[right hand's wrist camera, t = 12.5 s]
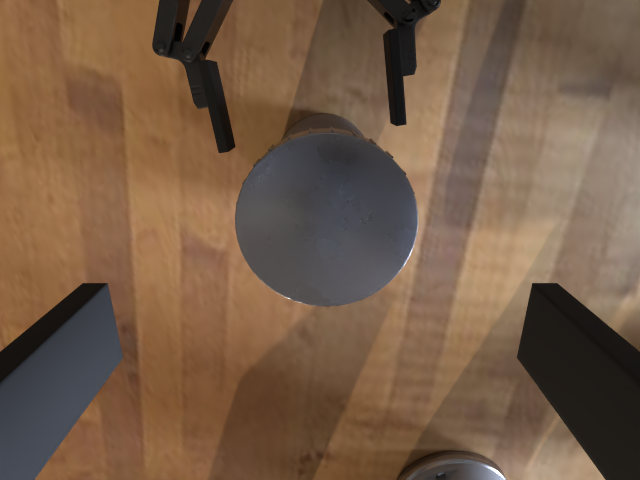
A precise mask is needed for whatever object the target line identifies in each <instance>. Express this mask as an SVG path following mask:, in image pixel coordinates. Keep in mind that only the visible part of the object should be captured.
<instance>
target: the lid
mask: <svg viewBox="0 0 640 480" xmlns="http://www.w3.org/2000/svg"><path fill="white" fill-rule="evenodd" d="M393 158H394V157H393V156H392V155H391V154H390V153H388V152H387V151H386V152H385V151H384V150H383V149H382V148H380V147H379V146H378V145H377V144H376V143H375V142H374V141H373V140H372V139H371V138H370V140H369V139H368V138H365V137H363V136H361V135H359V134H357V133H355V132H354V131H353V130H351V132H350V131H347V130H342V129H336V128H333V127H331V128H318V129H312V128H310V129H309V130H306V131H302V132H299V133H296V134H294V135H292V134H290V135H289V136H288V137H287V138H285V139H284V140H282V141H280V142H279V143H277V144H276V145H274V144H273V145H272V146H271V147H270V149H269V150H268V152H267V153H266V154H265V155H264V156H263V157H262V158H261V159H258V160H257V161H256V163H255V164H254V165H253V166H254V168H253V169H252V170H251V172H250V173H249V175H248V177H247V178H246V179H245V180H244V182H243V183H242V184H243V186H242V189H241V191H240V194H239V197H238V201H237V203H236V204H237V205H236V214H235V226H236V234H237V239H238V243H239V246H240V249H241V252H242V254H243V256H244V258H245V260H246V262H247V263H248V265H249V266H250V268H251V269H252V271H253V272H254V273H255V274H256V275H257V277H258V278H259V279H260V280H261V281H262V282H263V283H265V284H266V285H267V286H268V287H269V288H271V289H272V290H274V291H275V292H277V293H278V294H280V295H282V296H284V297H286V298H288V299H291V300H293V301H296V302H299V303H303V304H307V305H314V306H340V305H345V304H350V303H353V302H356V301H359V300H362V299H364V298H366V297H368V296H371V295H372V294H374V293H376V292H377V291H379V290H380V289H382V288H383V287H384V286H385V285H387V284H388V283H389V282H390V281H391V280H392V279H393V278H394V277H395V276H396V275H397V274H398V273H399V271H400V270H401V269H402V267H403V266H404V264H405V263H406V261H407V259H408V258H409V256H410V253H411V251H412V248H413V246H414V242H415V239H416V235H417V227H418V210H417V204H416V199H415V196H414V192H413V189H412V187H411V185H410V183H409V180H408V178H407V177H406V173H405V172H404V171H403V170H402V169H401V168H400V167H399V166H398V164H397V163H396V162H395V161H394V160H393Z"/></svg>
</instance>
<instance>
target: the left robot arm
mask: <svg viewBox="0 0 640 480" xmlns="http://www.w3.org/2000/svg"><path fill="white" fill-rule="evenodd" d="M232 1H233V0H202V1H201V3H200V5H199V8H198V10H197V12H196V14H195V16H194V19H193V21H192V23H191V25H190V27H189V30H188V32H187V34H186V36H185V38H184V41H183V35H184V30H185V24H186V19H187V14H188V8H189V3H190V0H159V6H158V13H157V19H156V25H155V31H154V37H153V43H152V47H153V50H154V52H155V53H156V54H157V55H159V56H163V57H168V58H173V59H177V60H179V61H181V62H182V63H183V65H184V66H185V69H186V73H187V77H188V81H189V85H190V88H191V93H192V97H193V101H194V104H195V105H196V107H197V108H198V109H201V108H207V107H208V108H209V113H210V117H211V121H212V125H213V130H214V134H215V138H216V143H217V147H218V151H219V153H223V152H229V151H230V150H232V149H233V148H235V142H234V138H233V133H232V129H231V124H230V120H229V115H228V110H227V106H226V101H225V97H224V92H223V88H222V83H221V78H220V74H219V69H218V65H217V62H215V61H210V60H206V59H205V58H206V56H207V54H208V52H209V50H210V48H211V45H212V43H213V41H214V39H215V37H216V35H217V33H218V31H219V29H220V27H221V24H222V22H223V20H224V18H225V16H226V14H227V12H228V10H229V8H230V6H231V3H232ZM368 1H369V3H370V4H371V5H372V6H373V7H374V8H375V9H376V10H377V11H378V12H379V13H380V14H381V15H382V16H383V17H384V18H385V19H386V20H387V21H388V22H389V23H390V24H391V25H392V26H393V27H394V29H391V30H388V31H387V32H386V33H384V34H383V40H384V51H385V63H386V75H387V87H388V98H389V110H390V122H391V123H392V124H393V125H395V126H400V125H406V111H405V97H404V83H403V76H408V75H414V74H415V71H416V67H417V65H416V48H415V25H416V23H417V22H418V21H419V20H420V19H422V18H424V17H425V16H427V15H429V14H430V13H432V12H433V11H435V10H436V9H437V8H438V7H439V5H440V3H441V0H410V2H411V4H408V3H407V2H406V1H405V0H368ZM182 41H183V42H182Z"/></svg>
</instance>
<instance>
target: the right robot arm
mask: <svg viewBox="0 0 640 480" xmlns="http://www.w3.org/2000/svg"><path fill="white" fill-rule="evenodd" d="M122 358H123V355H122V350H121V346H120V341H119V336H118V331H117V326H116V321H115V317H114V312H113V307H112V302H111V297H110V292H109V288H108V283H83V284H81V285H80V286H79V287H78V288H77V289H75V290H74V291H73V292H72V293H71V294H69V295H68V296H67V297H66V298H65V299H63V300H62V301H61V302H60V303H59V304H57V305H56V306H55V307H54V308H53V309H51V310H50V311H49V312H48V313H47V314H45V315H44V316H43V317H42V318H41V319H39V320H38V321H37V322H36V323H34V324H33V325H32V326H31V327H30V328H28V329H27V330H26V331H25V332H24V333H22V334H21V335H20V336H19V337H18V338H16V339H15V340H14V341H13V342H12V343H10V344H9V345H8V346H7V347H6V348H4V349H3V350H2V351H1V352H0V480H34V479H35V478H36V477H37V475H38V474H39V473H40V471H41V470H42V468H43V467H44V466H45V464H46V463H47V462H48V460H49V459H50V457H51V456H52V455H53V453H54V452H55V451H56V449H57V448H58V446H59V445H60V444H61V442H62V441H63V440H64V438H65V437H66V435H67V434H68V433H69V431H70V430H71V429H72V427H73V426H74V424H75V423H76V422H77V420H78V419H79V417H80V416H81V415H82V413H83V412H84V411H85V409H86V408H87V406H88V405H89V404H90V402H91V401H92V400H93V398H94V397H95V395H96V394H97V393H98V391H99V390H100V389H101V387H102V386H103V384H104V383H105V382H106V380H107V379H108V378H109V376H110V375H111V373H112V372H113V371H114V369H115V368H116V366H117V365H118V364H119V362H120V361H121V360H122ZM517 358H518V360H519V361H520V362H521V364H522V365H523V366H524V368H525V369H526V371H527V372H528V373H529V375H530V376H531V378H532V379H533V380H534V382H535V383H536V384H537V386H538V387H539V389H540V390H541V391H542V393H543V394H544V395H545V397H546V398H547V400H548V401H549V402H550V404H551V405H552V406H553V408H554V409H555V411H556V412H557V413H558V415H559V416H560V417H561V419H562V420H563V422H564V423H565V424H566V426H567V427H568V429H569V430H570V431H571V433H572V434H573V435H574V437H575V438H576V440H577V441H578V442H579V444H580V445H581V446H582V448H583V449H584V451H585V452H586V453H587V455H588V456H589V457H590V459H591V460H592V462H593V463H594V464H595V466H596V467H597V468H598V470H599V471H600V473H601V474H602V475H603V477H604V478H605V479H606V480H640V352H639V351H638V350H637V349H636V348H634V347H633V346H632V345H631V344H630V343H628V342H627V341H626V340H625V339H624V338H622V337H621V336H620V335H619V334H618V333H616V332H615V331H614V330H613V329H612V328H610V327H609V326H608V325H607V324H606V323H604V322H603V321H602V320H601V319H599V318H598V317H597V316H596V315H595V314H593V313H592V312H591V311H590V310H589V309H587V308H586V307H585V306H584V305H583V304H581V303H580V302H579V301H578V300H577V299H575V298H574V297H573V296H572V295H571V294H569V293H568V292H567V291H566V290H565V289H563V288H562V287H561V286H560V285H559V284H557V283H532V288H531V292H530V297H529V302H528V307H527V312H526V317H525V321H524V326H523V331H522V336H521V341H520V346H519V350H518V355H517ZM398 480H506V478H505V476H504V474H503V472H502V471H501V469H500V468H499V467H498V466H497V465H496V464H495V463H494V462H492V461H491V460H489V459H487V458H485V457H483V456H481V455H478V454H475V453H470V452H464V451H449V452H441V453H437V454H433V455H430V456H427V457H425V458H422V459H420V460H418V461H417V462H415V463H413V464H412V465H411V466H409V467H408V468H407V469H406V470H405V471H404V472H403V473H402V474H401V475H400V477H399V478H398Z"/></svg>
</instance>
